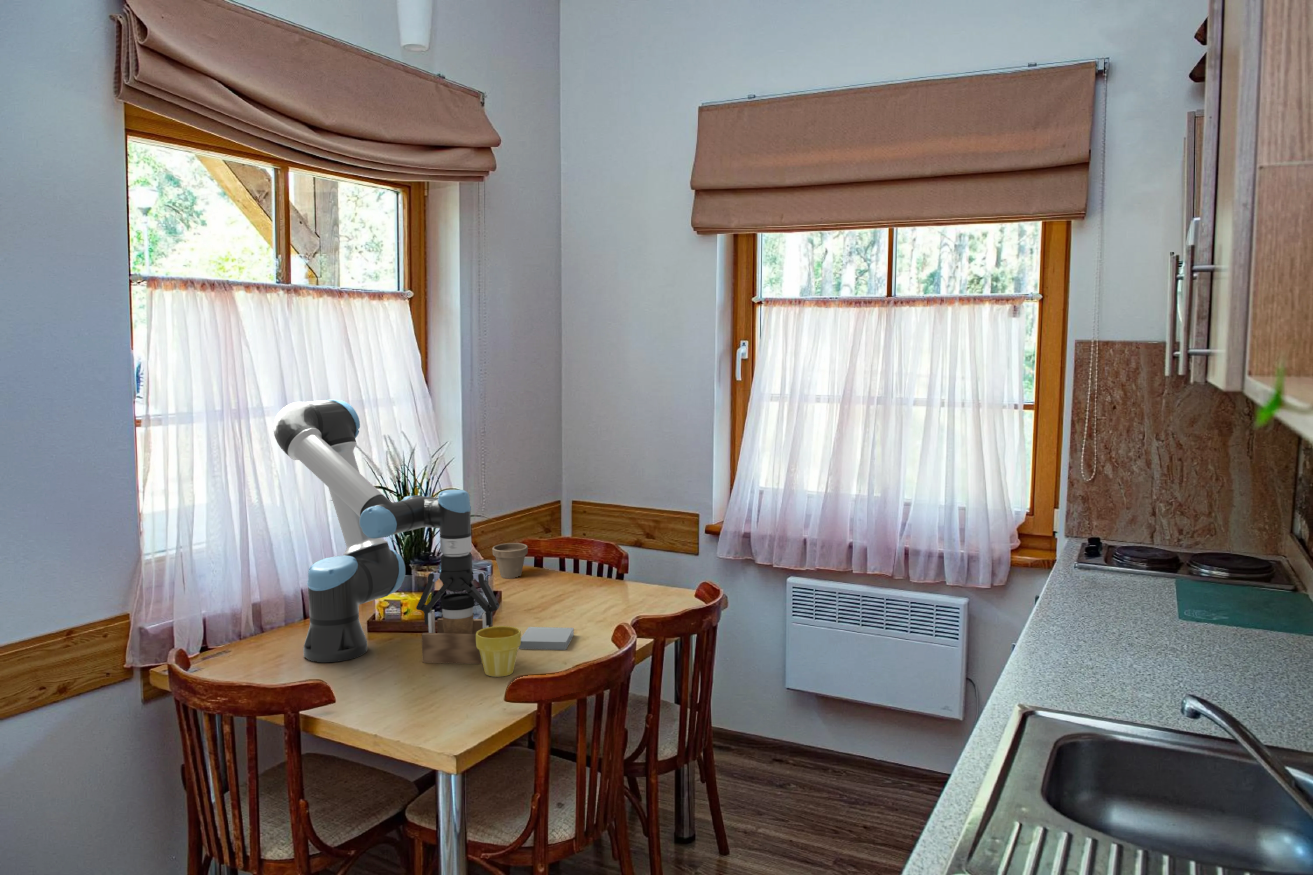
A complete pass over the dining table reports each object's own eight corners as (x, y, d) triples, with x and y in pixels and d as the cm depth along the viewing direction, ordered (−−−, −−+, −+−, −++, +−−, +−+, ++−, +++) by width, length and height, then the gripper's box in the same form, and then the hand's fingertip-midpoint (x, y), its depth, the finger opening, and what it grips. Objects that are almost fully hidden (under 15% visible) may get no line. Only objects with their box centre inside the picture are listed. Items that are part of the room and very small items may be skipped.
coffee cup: (468, 660, 232) (466, 600, 230) (435, 658, 234) (434, 598, 232) (481, 649, 240) (479, 591, 239) (449, 647, 242) (448, 589, 240)
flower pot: (507, 582, 307) (507, 551, 306) (486, 576, 314) (485, 546, 313) (535, 576, 315) (534, 546, 314) (513, 570, 323) (513, 541, 322)
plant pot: (501, 661, 231) (500, 622, 230) (530, 670, 225) (529, 630, 224) (467, 673, 223) (466, 632, 222) (497, 683, 217) (496, 641, 216)
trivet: (518, 648, 241) (518, 641, 241) (528, 634, 253) (528, 626, 252) (565, 649, 240) (565, 642, 240) (573, 635, 252) (573, 627, 252)
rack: (422, 662, 231) (421, 634, 230) (439, 644, 244) (438, 618, 243) (479, 663, 230) (478, 635, 229) (493, 646, 243) (492, 619, 242)
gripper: (401, 556, 232) (404, 641, 234) (502, 556, 230) (505, 642, 232) (411, 549, 239) (414, 632, 241) (509, 550, 237) (512, 633, 239)
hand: (459, 637), depth 236 cm, fingers open, 13 cm apart
